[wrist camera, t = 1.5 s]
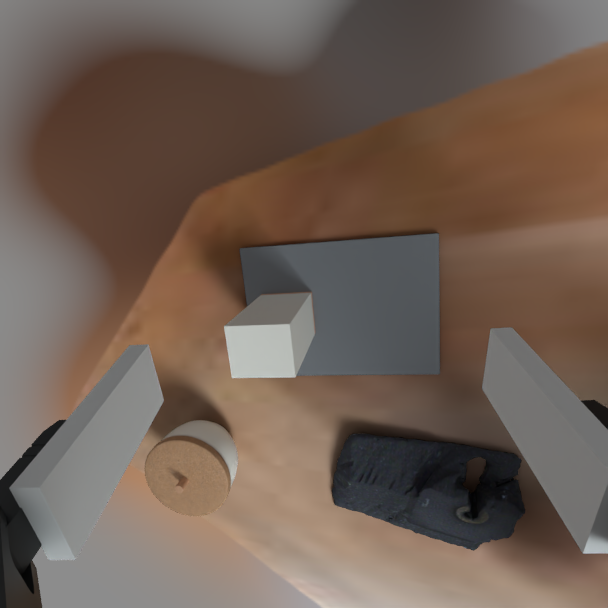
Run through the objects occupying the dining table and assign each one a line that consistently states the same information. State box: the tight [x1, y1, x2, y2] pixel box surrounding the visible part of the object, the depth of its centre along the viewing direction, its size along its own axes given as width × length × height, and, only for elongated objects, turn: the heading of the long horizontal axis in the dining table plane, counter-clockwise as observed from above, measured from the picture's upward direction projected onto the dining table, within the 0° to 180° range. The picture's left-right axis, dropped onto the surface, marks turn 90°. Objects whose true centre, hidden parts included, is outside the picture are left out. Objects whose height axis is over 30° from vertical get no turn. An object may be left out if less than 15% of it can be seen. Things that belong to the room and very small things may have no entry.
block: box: [224, 292, 316, 378], centre depth 41 cm, size 5×6×12 cm
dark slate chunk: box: [332, 434, 525, 550], centre depth 48 cm, size 15×22×5 cm
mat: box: [240, 233, 440, 376], centre depth 45 cm, size 16×22×1 cm
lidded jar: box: [145, 420, 238, 516], centre depth 49 cm, size 11×11×9 cm
